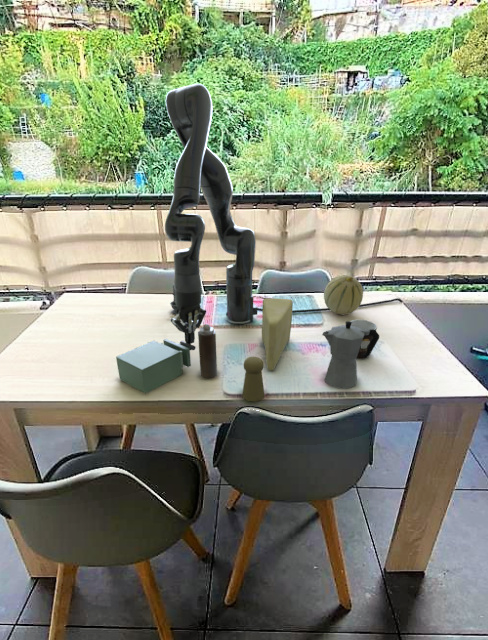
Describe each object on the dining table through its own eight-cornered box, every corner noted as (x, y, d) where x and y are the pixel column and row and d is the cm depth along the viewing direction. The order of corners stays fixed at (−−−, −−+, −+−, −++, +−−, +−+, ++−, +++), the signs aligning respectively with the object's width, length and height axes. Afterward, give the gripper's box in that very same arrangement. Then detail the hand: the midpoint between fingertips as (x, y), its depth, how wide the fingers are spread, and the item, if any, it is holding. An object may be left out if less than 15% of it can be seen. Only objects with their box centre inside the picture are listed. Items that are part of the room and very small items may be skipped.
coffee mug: (372, 350, 134) (378, 321, 129) (370, 362, 127) (376, 332, 122) (336, 345, 137) (340, 317, 132) (332, 356, 130) (336, 327, 125)
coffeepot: (320, 389, 114) (327, 329, 105) (314, 372, 122) (320, 315, 113) (376, 388, 114) (388, 328, 105) (366, 371, 123) (376, 314, 113)
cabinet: (156, 362, 127) (153, 340, 123) (182, 374, 121) (180, 351, 117) (119, 379, 118) (115, 356, 115) (145, 393, 112) (142, 369, 108)
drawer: (178, 350, 132) (177, 333, 129) (201, 360, 127) (200, 343, 124) (135, 370, 121) (133, 353, 118) (158, 382, 115) (156, 364, 113)
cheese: (287, 372, 122) (290, 325, 114) (254, 370, 123) (254, 323, 115) (290, 340, 141) (293, 297, 133) (261, 338, 142) (262, 296, 134)
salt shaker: (187, 309, 165) (185, 279, 158) (184, 315, 160) (182, 284, 153) (173, 308, 165) (170, 279, 159) (169, 314, 160) (166, 284, 154)
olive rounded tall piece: (241, 389, 114) (241, 353, 108) (263, 388, 114) (264, 353, 109) (243, 402, 109) (243, 365, 103) (265, 400, 109) (267, 364, 104)
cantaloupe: (331, 303, 171) (336, 267, 163) (366, 311, 163) (372, 273, 156) (315, 314, 160) (318, 276, 153) (350, 323, 153) (356, 283, 145)
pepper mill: (216, 370, 123) (214, 320, 115) (218, 378, 119) (216, 327, 111) (199, 371, 122) (196, 321, 114) (201, 379, 118) (198, 328, 110)
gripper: (179, 296, 113) (182, 353, 121) (213, 285, 122) (213, 339, 130) (161, 290, 117) (165, 346, 125) (195, 280, 126) (196, 333, 134)
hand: (190, 342), depth 128 cm, fingers closed
